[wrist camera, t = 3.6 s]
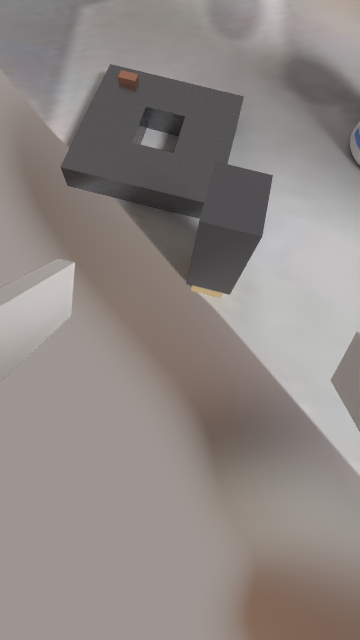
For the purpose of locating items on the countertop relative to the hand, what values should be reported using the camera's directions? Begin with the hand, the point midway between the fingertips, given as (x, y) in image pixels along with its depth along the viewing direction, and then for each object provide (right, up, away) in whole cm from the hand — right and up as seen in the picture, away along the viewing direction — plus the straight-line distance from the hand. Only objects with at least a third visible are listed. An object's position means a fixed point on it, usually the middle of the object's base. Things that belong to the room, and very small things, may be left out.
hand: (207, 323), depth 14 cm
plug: (+2, +5, +16) cm, 17 cm away
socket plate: (-4, +20, +21) cm, 29 cm away
